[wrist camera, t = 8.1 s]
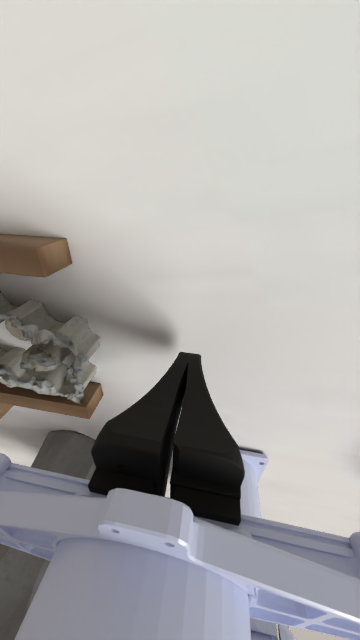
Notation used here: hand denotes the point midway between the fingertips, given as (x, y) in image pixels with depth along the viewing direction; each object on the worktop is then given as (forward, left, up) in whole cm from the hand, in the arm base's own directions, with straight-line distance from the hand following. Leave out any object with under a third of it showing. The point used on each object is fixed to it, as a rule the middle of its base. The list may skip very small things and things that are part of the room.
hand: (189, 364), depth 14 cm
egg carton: (-1, +13, -2) cm, 13 cm away
